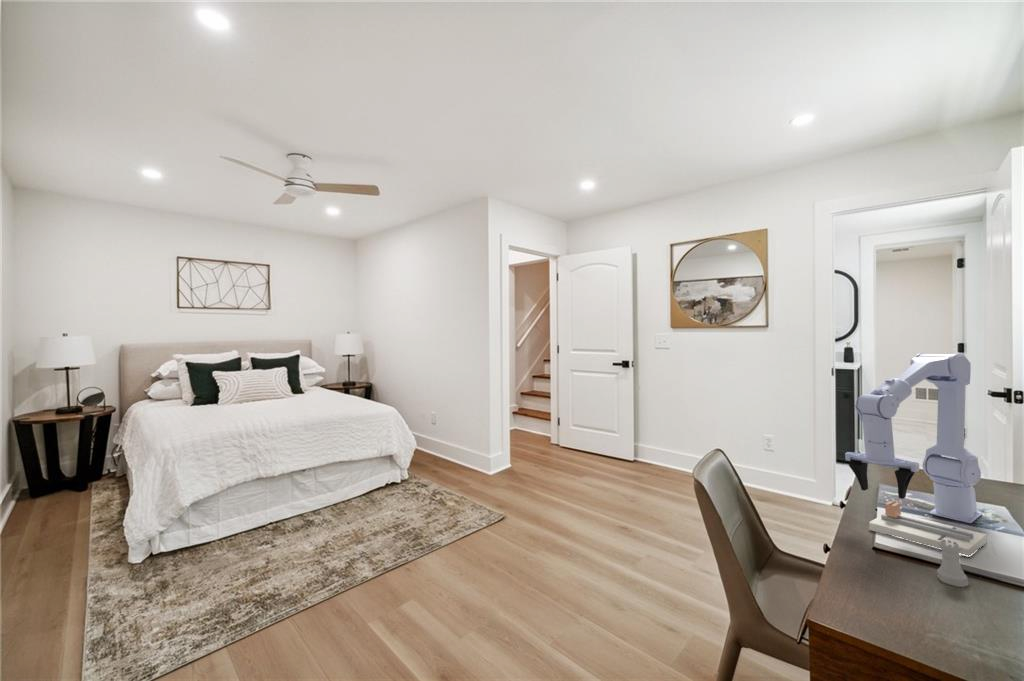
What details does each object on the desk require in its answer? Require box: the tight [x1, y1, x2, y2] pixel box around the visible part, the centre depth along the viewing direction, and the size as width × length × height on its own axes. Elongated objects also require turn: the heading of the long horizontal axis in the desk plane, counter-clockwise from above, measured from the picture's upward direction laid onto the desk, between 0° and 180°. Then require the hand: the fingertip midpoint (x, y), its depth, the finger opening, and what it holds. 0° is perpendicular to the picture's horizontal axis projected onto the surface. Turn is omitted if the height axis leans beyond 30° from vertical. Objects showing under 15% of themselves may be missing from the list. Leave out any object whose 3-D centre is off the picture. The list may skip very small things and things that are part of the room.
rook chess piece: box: [937, 540, 969, 588], centre depth 85 cm, size 4×4×8 cm
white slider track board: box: [868, 512, 988, 556], centre depth 104 cm, size 12×18×3 cm, turn 29°
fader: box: [884, 500, 902, 518], centre depth 109 cm, size 3×2×4 cm, turn 119°
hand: (882, 493), depth 108 cm, fingers open, 7 cm apart
